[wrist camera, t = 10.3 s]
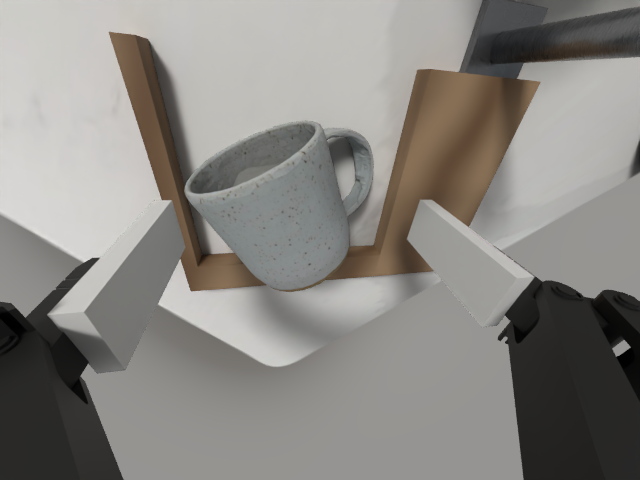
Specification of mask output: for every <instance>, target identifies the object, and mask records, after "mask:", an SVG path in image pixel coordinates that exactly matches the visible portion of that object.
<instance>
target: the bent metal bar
mask: <svg viewBox="0 0 640 480" xmlns="http://www.w3.org/2000/svg"><path fill="white" fill-rule="evenodd" d="M547 10H548V8H544V7H539V6H534V5H529V4H524V3H519V2H514V1H509V0H483V2H482V5H481V8H480V11H479V14H478V17H477V20H476V23H475V26H474V29H473V32H472V35H471V38H470V41H469V44H468V48H467V51H466V54H465V57H464V60H463V63H462V66H461V69H460V72H459V73H468V74H477V75H485V76H494V77H503V78H511V79H517V77H518V75H519V72H520V70H521V68H522V66H523V63H530V62H550V61H570V60H591V59H611V58H631V57H640V6H639V7H634V8H628V9H623V10H618V11H612V12H607V13H601V14H596V15H590V16H585V17H579V18H574V19H568V20H563V21H558V22H552V23H547V24H541V23H542V21H543V19H544V16H545V14H546V12H547Z"/></svg>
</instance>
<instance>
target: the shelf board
mask: <svg viewBox="0 0 640 480" xmlns="http://www.w3.org/2000/svg"><path fill="white" fill-rule="evenodd" d="M109 35H110V38H111V41H112V44H113V47H114V50H115V54H116V57H117V60H118V63H119V66H120V69H121V72H122V76H123V79H124V82H125V85H126V88H127V91H128V95H129V98H130V101H131V104H132V107H133V110H134V113H135V117H136V120H137V123H138V126H139V129H140V132H141V136H142V139H143V142H144V145H145V148H146V151H147V155H148V158H149V161H150V164H151V167H152V170H153V173H154V177H155V180H156V183H157V186H158V189H159V192H160V196H161V199H162V200H172V202H173V206H174V209H175V213H176V216H177V219H178V223H179V226H180V230H181V233H182V237H183V240H184V244H185V249H184V251H183V253H182V256H181V258H180V259H181V262H182V265H183V268H184V271H185V274H186V278H187V281H188V284H189V287H190V290H191V291H201V290H213V289H225V288H237V287H249V286H261V285H266V284H265V283H263V282H262V281H261V280H259V279H258V278H257V277H255V276H254V275H253V274H252V273H251V272H250V270H249V269H248V268H247V267H246V266H245V264H244V263H243V262H242V261H241V260H240V258H239V257H238V256H237V255H236V254H235V253H227V254H209V255H202V254H201V250H200V246H199V242H198V238H197V234H196V230H195V226H194V222H193V218H192V214H191V210H190V206H189V202H188V199H187V197H186V195H185V192H184V190H185V186H184V182H183V178H182V174H181V170H180V166H179V162H178V158H177V154H176V150H175V146H174V142H173V138H172V134H171V130H170V126H169V122H168V118H167V114H166V110H165V106H164V102H163V98H162V94H161V90H160V86H159V82H158V78H157V74H156V70H155V66H154V62H153V58H152V54H151V50H150V46H149V42H148V39H146V38H143V37H140V36H136V35H131V34H122V33H113V32H109ZM539 84H540V82H537V81H529V80H520V79H511V78H503V77H494V76H485V75H477V74H468V73H459V72H451V71H442V70H434V69H424V70H417V74H416V78H415V82H414V86H413V90H412V94H411V98H410V102H409V106H408V110H407V114H406V118H405V122H404V126H403V130H402V134H401V138H400V142H399V146H398V150H397V154H396V158H395V162H394V166H393V170H392V174H391V178H390V182H389V186H388V190H387V194H386V198H385V202H384V206H383V210H382V214H381V218H380V222H379V226H378V230H377V234H376V238H375V243H374V245H373V246H355V247H349V251H348V254H347V256H346V258H345V260H344V262H343V263H342V265H341V266H340V267H339V268H338V270H337V271H336V272H335V273H334V274H333V275H331V276H330V277H329V278H327V279H326V280H333V279H345V278H357V277H369V276H381V275H393V274H405V273H417V272H429V271H433V269H432V268H431V267H430V266H429V265H428V263H427V262H426V261H425V260H424V259H423V258H422V256H421V255H420V254H419V253H418V252H417V251H416V249H415V248H414V247H413V246H412V245H411V243H410V242H409V241H408V240H407V237H408V234H409V231H410V228H411V225H412V222H413V219H414V216H415V213H416V210H417V208H418V205H419V202H420V200H433V201H434V202H436V203H437V204H438V205H440V206H441V207H442V208H444V209H445V210H446V211H448V212H449V213H450V214H452V215H453V216H454V217H456V218H457V219H458V220H460V221H461V222H462V223H464V224H465V225H466V226H468V227H469V225H470V223H471V221H472V219H473V217H474V215H475V213H476V211H477V209H478V207H479V205H480V203H481V201H482V199H483V197H484V195H485V193H486V191H487V189H488V187H489V185H490V183H491V181H492V179H493V177H494V175H495V173H496V171H497V169H498V167H499V165H500V163H501V161H502V159H503V157H504V155H505V153H506V151H507V149H508V147H509V145H510V143H511V141H512V139H513V137H514V135H515V133H516V131H517V128H518V126H519V124H520V122H521V120H522V118H523V116H524V114H525V112H526V110H527V108H528V106H529V104H530V102H531V100H532V98H533V96H534V94H535V92H536V90H537V88H538V86H539Z"/></svg>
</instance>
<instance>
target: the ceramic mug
mask: <svg viewBox="0 0 640 480" xmlns="http://www.w3.org/2000/svg"><path fill="white" fill-rule="evenodd" d="M333 137H345V138H346V139H347V140H348V141H349V144H350V145H351V146H352V150H353V156H354V162H355V170H356V171H355V177H356V180H355V184H354V186H353V188H352V190H351V192H350V194H349V195H348V196H347V197H346V198H345V200H344V201H343V202H342V199H341V195H340V191H339V187H338V183H337V179H336V175H335V171H334V167H333V163H332V160H331V155H330V151H329V147H328V143H327V140H328V139H330V138H333ZM373 168H374V166H373V156H372V151H371V148H370V145H369V143H368V142H367V140H366V139H365V138H364V137H363V136H362V135H361V134H359V133H357V132H355V131H353V130H350V129H343V128H328V129H323V128H322V127H321V125H320V124H318V123H316V122H312V121H298V122H291V123H287V124H282V125H278V126H274V127H272V128H270V129H267V130H265V131H262V132H258V133H256V134H253V135H251V136H249V137H247V138H245V139H243V140H240V141H238V142H236V143H235V144H233V145H231V146H229V147H227V148H226V149H224V150H222V151H220V152H219V153H217V154H216V155H214V156H213V157H211V158H210V159H208V160H207V161H205V162H204V163H203V164H202V165H201V166H200V167H199V168H197V169H196V171H195V172H194V173H193V174H192V175H191V177H190V178H189V179H188V181H187V182H186V185H185V190H184V192H185V195H186V197H187V199H188V200H189V202H190V203H191V204H192V205H193V206H194V208H195V209H196V210H197V211H198V212H199V213H200V214H201V215H202V216H203V217H204V219H205V220H206V221H207V222H208V223H209V224H210V226H211V227H212V228H213V229H214V230H215V231H216V232H217V233H218V235H219V236H220V237H221V238H222V239H223V240H224V241H225V243H226V244H227V245H228V246H229V247H230V248H231V249H232V250H233V252H234V253H235V254H236V255H237V256H238V257H239V258H240V260H241V261H242V262H243V263H244V264H245V266H246V267H247V268H248V269H249V270H250V272H251V273H252V274H253V275H254V276H255V277H257V278H258V279H259V280H261V281H262V282H263V283H265V284H266V285H268V286H270V287H272V288H273V289H276V290H280V291H286V292H293V291H300V290H305V289H308V288H311V287H313V286H316V285H318V284H320V283H321V282H323V281H324V280H326V279H327V278H329V277H330V276H331V275H333V274H334V273H335V272H336V271H337V270H338V268H339V267H340V266H341V265H342V263H343V262H344V260H345V258H346V256H347V254H348V251H349V245H350V233H349V224H348V219H347V217H348V216H349V215H351V214H352V213H353V212H354V211H355V210H356V209H357V208H358V207H359V206H360V205H361V204H362V202H363V201H364V200H365V198H366V197H367V194H368V192H369V190H370V187H371V183H372V180H373Z"/></svg>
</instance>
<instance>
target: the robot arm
mask: <svg viewBox="0 0 640 480" xmlns="http://www.w3.org/2000/svg"><path fill="white" fill-rule="evenodd" d="M407 240H408V241H409V242H410V243H411V245H412V246H413V247H414V248H415V249H416V251H417V252H418V253H419V254H420V255H421V256H422V258H423V259H424V260H425V261H426V262H427V263H428V265H429V266H430V267H431V268H432V269H433V271H434V272H435V273H436V274H437V275H438V276H439V278H440V279H441V280H442V281H443V282H444V283H445V285H446V286H447V287H448V288H449V289H450V290H451V292H452V293H453V294H454V295H455V296H456V298H457V299H458V300H459V301H460V302H461V303H462V305H463V306H464V307H465V308H466V309H467V310H468V312H469V313H470V314H471V315H472V316H473V317H474V319H475V320H476V321H477V322H478V323H479V324H480V326H481V327H487V326H495V325H498V324H499V322H500V321H501V320H502V318H503V317H504V316H506V317H507V318H508V319H509V320H510V323H509V324H508V325H507V326H506V328H505V329H504V330H503V331H502V333H501V334H500V335H499V336H498V340H499V341H501V340H502V339H503V337H505V336H506V337H508V339H507V341H506V342H505V343H506V344H508V345H509V354H510V363H511V371H512V379H513V388H514V398H515V407H516V416H517V425H518V433H519V442H520V451H521V459H522V469H523V478H524V480H640V301H638V300H637V299H636V298H634V297H632V296H630V295H628V294H625V293H622V292H617V291H614V290H604V291H602V292H601V293H600V294H599V295H598V296H597V297H596V298H595V299H593V298H586V297H583V296H582V294H580V293H579V292H577V291H576V290H574V289H573V288H571V287H569V286H567V285H564V284H562V283H559V282H555V281H544V282H542V281H541V280H539V279H538V278H537V277H535V276H534V275H532V274H531V273H530V272H528V271H527V270H526V269H524V268H523V267H522V266H521V265H519V264H518V263H517V262H515V261H513V260H512V259H511V258H510V257H508V256H507V255H505V254H504V253H503V252H502V251H501V250H499V249H498V248H497V247H495V246H493V245H491V244H490V243H489V242H487V241H486V240H485V239H483V238H482V237H481V236H479V235H478V234H477V233H475V232H474V231H473V230H471V229H470V228H469V227H468V226H466V225H465V224H464V223H462V222H461V221H460V220H458V219H457V218H456V217H454V216H453V215H452V214H450V213H449V212H448V211H446V210H445V209H444V208H442V207H441V206H440V205H438V204H437V203H436V202H434V201H433V200H420V202H419V205H418V208H417V210H416V213H415V216H414V219H413V222H412V225H411V228H410V231H409V234H408V237H407ZM184 249H185V244H184V240H183V237H182V233H181V230H180V226H179V223H178V219H177V216H176V213H175V209H174V206H173V202H172V200H154V201H153V202H152V203H151V204H150V205H149V206H148V207H147V208H146V209H145V211H144V212H143V213H142V214H141V215H140V216H139V217H138V218H137V219H136V220H135V221H134V222H133V223H132V224H131V226H130V227H129V228H128V229H127V230H126V231H125V232H124V233H123V234H122V235H121V236H120V237H119V238H118V239H117V241H116V242H115V243H114V244H113V245H112V246H111V247H110V248H109V249H108V250H107V251H106V252H105V253H104V254H103V256H102V257H101V258H91V259H90V260H88V261H86V262H85V263H83V264H81V265H80V266H78V267H77V268H75V269H74V270H73V271H72V272H71V273H70V274H69V275H68V276H67V277H66V280H65V281H62V282H61V283H60V284H59V285H58V286H57V287H56V290H53V291H52V292H51V293H50V294H49V295H48V296H47V297H46V298H45V299H44V300H43V301H42V302H41V303H40V304H39V305H38V306H37V307H36V308H35V309H34V310H33V311H32V312H31V313H30V314H29V315H28V316H27V317H26V318H25V317H24V316H23V315H22V314H21V313H20V312H19V311H18V310H17V309H16V308H15V306H14V305H12V304H11V303H5V302H0V480H123V477H122V475H121V472H120V470H119V467H118V465H117V462H116V460H115V457H114V454H113V452H112V449H111V447H110V444H109V442H108V439H107V436H106V434H105V431H104V429H103V426H102V424H101V421H100V419H99V416H98V413H97V411H96V409H95V406H94V404H93V401H92V398H91V396H90V393H89V390H88V388H87V386H86V383H85V381H84V380H83V379H82V378H81V377H80V376H81V374H82V372H83V371H84V369H85V368H86V366H87V364H88V363H89V365H90V366H91V367H92V368H93V369H94V370H95V372H96V373H105V372H114V371H122V370H126V368H127V366H128V363H129V361H130V359H131V357H132V355H133V353H134V351H135V349H136V347H137V345H138V343H139V341H140V339H141V337H142V335H143V333H144V331H145V329H146V327H147V325H148V323H149V321H150V319H151V317H152V314H153V312H154V311H155V309H156V306H157V304H158V302H159V300H160V298H161V296H162V294H163V292H164V290H165V288H166V286H167V284H168V282H169V280H170V278H171V276H172V274H173V272H174V270H175V268H176V266H177V264H178V262H179V260H180V258H181V256H182V253H183V251H184ZM623 340H625V341H626V342H627V343H628V344H629V345H630V347H631V348H629V349H628V350H627V351H625V352H624V353H623V354H621V355H620V356H617V357H616V356H615V354H614V352H613V350H612V348H613V347H615V346H616V345H617V344H619V343H620V342H621V341H623Z"/></svg>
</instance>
